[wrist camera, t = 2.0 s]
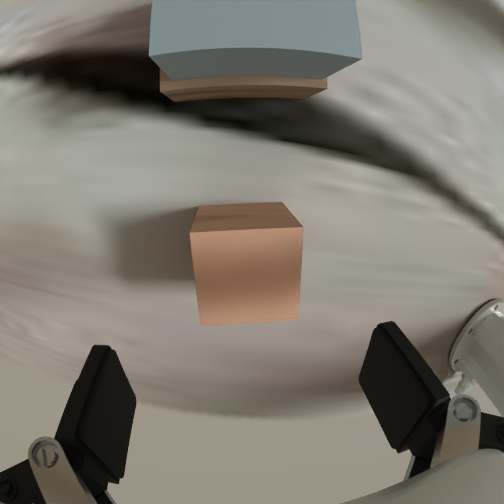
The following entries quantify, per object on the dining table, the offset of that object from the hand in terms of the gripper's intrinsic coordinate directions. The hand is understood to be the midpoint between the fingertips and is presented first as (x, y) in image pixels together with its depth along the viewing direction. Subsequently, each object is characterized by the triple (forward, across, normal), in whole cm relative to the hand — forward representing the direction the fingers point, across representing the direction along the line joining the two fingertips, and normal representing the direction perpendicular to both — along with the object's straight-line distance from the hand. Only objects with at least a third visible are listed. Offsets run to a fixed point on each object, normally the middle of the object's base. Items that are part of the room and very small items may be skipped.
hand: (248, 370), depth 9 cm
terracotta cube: (+13, -1, 0) cm, 13 cm away
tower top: (+8, -1, -15) cm, 17 cm away
